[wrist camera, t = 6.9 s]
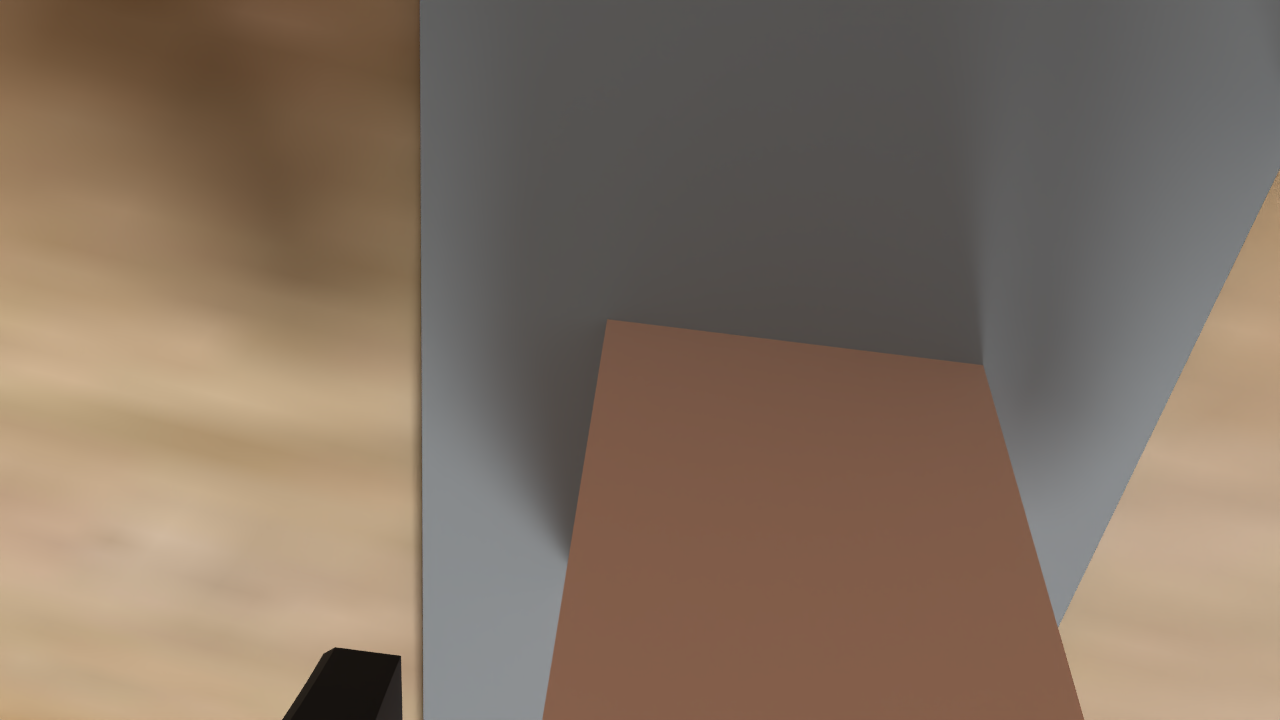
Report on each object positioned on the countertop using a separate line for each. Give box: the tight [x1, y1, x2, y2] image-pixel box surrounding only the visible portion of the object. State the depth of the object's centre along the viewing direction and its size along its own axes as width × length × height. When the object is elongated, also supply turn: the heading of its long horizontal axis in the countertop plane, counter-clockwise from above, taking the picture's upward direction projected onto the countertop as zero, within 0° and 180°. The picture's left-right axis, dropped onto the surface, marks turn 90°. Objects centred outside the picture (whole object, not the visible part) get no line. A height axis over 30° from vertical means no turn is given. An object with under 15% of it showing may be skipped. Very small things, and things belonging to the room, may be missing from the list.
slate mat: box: [420, 0, 1280, 720], centre depth 14 cm, size 8×14×1 cm, turn 174°
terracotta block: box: [542, 319, 1084, 720], centre depth 11 cm, size 4×4×6 cm
